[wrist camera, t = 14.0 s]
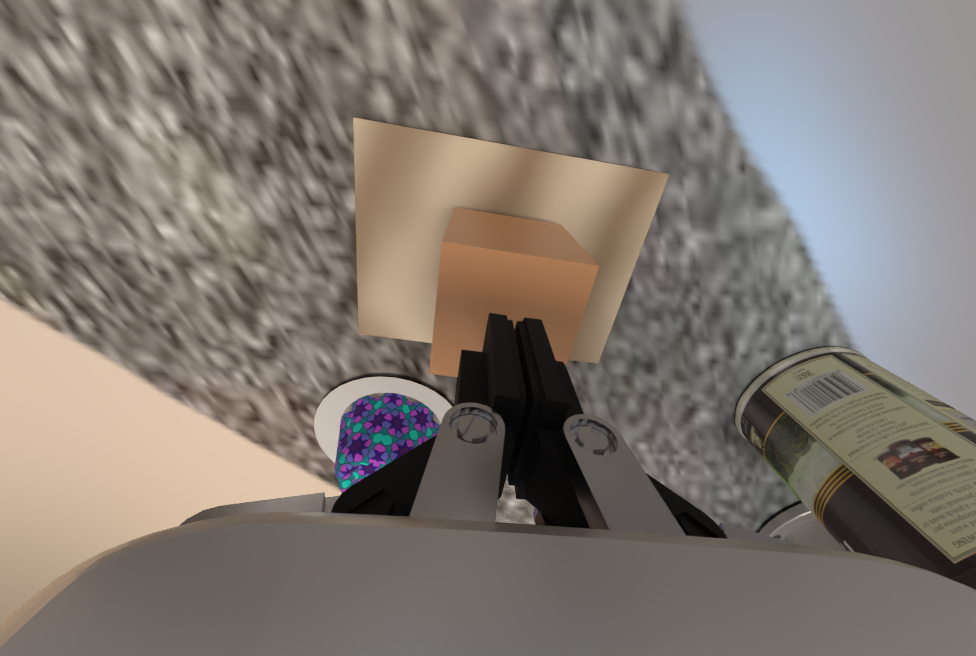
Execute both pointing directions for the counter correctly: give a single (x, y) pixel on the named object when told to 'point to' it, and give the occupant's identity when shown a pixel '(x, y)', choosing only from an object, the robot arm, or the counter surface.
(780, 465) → the coffee can
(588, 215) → the post stand
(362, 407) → the pudding
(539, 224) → the orange block
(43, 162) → the counter surface
